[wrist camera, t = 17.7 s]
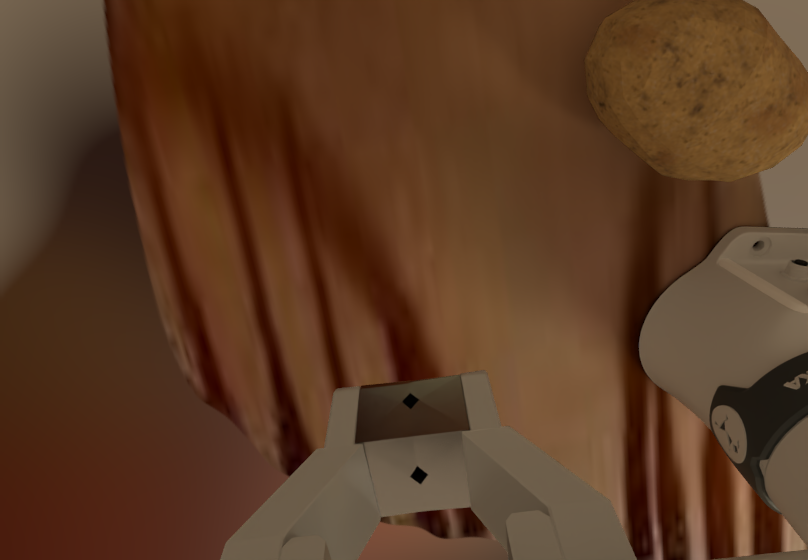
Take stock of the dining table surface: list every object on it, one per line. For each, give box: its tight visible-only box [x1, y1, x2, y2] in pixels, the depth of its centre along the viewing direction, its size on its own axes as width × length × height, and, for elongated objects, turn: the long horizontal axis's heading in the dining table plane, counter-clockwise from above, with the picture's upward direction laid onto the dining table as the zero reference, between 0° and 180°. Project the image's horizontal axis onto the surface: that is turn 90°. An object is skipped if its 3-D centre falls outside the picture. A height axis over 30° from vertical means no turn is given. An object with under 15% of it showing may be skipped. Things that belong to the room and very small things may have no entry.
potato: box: [584, 0, 808, 182], centre depth 31 cm, size 10×14×8 cm
